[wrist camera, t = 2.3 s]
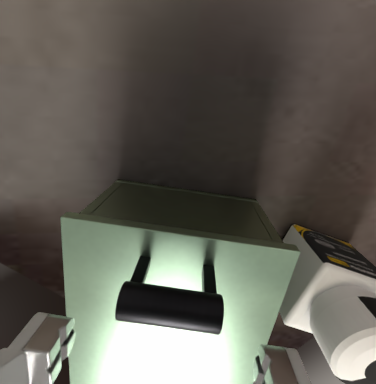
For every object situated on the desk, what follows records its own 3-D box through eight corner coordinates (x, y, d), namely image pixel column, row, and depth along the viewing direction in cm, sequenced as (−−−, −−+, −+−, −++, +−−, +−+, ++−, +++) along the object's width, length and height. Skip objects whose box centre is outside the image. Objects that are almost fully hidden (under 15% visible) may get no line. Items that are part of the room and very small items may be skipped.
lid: (67, 211, 14) (3, 260, 10) (295, 244, 15) (342, 308, 10) (74, 380, 20) (37, 463, 15) (240, 403, 20) (252, 492, 15)
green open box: (118, 178, 24) (68, 222, 15) (256, 199, 24) (291, 254, 15) (114, 294, 29) (75, 379, 20) (227, 310, 29) (239, 402, 20)
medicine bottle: (350, 243, 25) (472, 350, 14) (316, 290, 28) (397, 415, 16) (291, 222, 25) (369, 316, 14) (262, 272, 27) (307, 388, 16)
